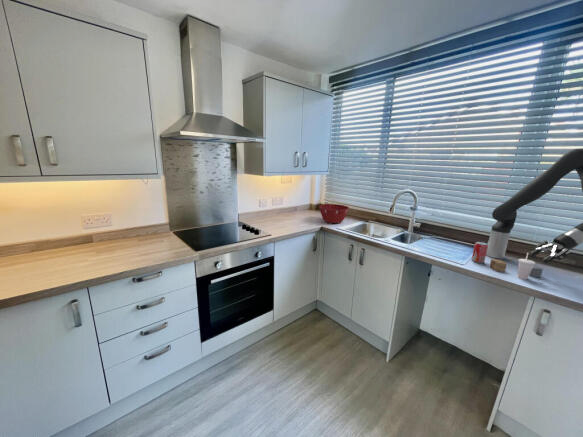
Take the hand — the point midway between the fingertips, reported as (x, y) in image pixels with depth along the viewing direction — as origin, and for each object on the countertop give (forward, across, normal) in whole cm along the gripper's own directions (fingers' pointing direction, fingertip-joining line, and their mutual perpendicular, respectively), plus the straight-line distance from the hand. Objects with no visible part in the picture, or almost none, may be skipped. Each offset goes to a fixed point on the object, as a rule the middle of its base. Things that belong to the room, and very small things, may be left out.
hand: (537, 258), depth 124 cm
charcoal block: (+6, -6, +11) cm, 14 cm away
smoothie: (+11, 0, +5) cm, 13 cm away
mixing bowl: (+84, -92, -67) cm, 142 cm away
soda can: (+20, -19, -3) cm, 28 cm away
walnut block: (+16, -9, 0) cm, 19 cm away
